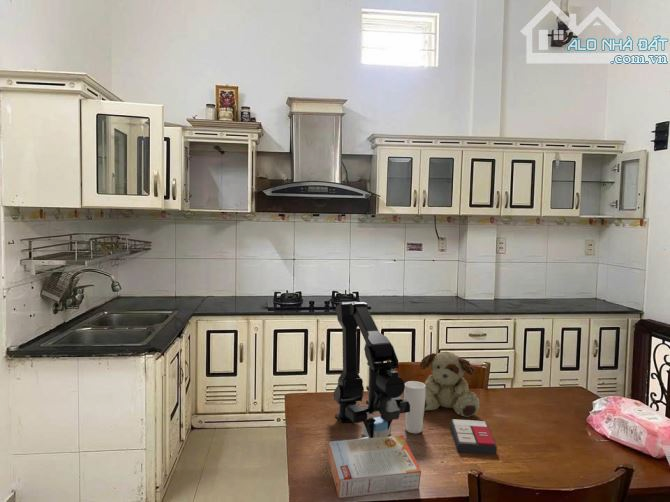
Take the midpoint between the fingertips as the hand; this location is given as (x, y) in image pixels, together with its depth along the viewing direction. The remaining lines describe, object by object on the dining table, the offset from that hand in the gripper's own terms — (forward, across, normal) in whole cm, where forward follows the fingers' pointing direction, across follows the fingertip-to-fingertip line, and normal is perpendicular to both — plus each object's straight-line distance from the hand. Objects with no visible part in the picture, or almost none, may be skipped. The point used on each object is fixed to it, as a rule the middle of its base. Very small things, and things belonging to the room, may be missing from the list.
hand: (377, 437), depth 130 cm
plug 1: (+3, 0, 0) cm, 3 cm away
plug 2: (+4, +6, +10) cm, 12 cm away
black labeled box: (+5, +30, -6) cm, 31 cm away
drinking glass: (+4, +18, +7) cm, 20 cm away
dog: (+5, +41, +18) cm, 45 cm away
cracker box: (0, +2, -14) cm, 14 cm away
